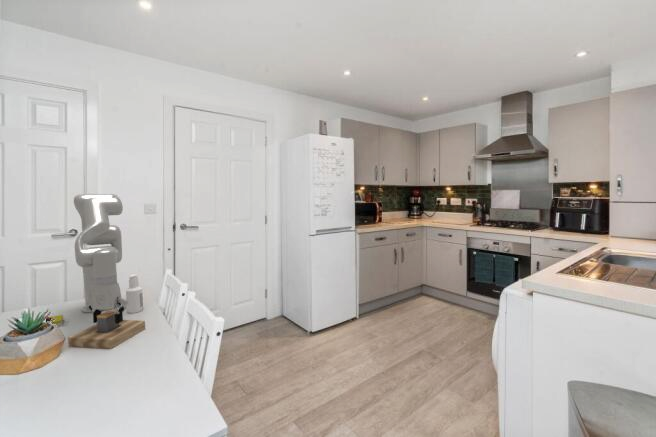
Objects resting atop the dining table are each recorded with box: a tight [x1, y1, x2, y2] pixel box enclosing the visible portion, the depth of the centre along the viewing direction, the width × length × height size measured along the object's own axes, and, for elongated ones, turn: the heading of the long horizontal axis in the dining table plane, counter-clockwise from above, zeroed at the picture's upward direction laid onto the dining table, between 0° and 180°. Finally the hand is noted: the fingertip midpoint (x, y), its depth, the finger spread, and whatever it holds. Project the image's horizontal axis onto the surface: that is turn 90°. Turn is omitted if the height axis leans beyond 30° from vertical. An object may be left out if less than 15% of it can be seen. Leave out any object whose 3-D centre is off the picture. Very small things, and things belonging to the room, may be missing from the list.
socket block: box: [67, 319, 146, 350], centre depth 127 cm, size 18×18×4 cm
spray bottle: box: [125, 274, 144, 314], centre depth 156 cm, size 7×7×18 cm
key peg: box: [96, 309, 119, 333], centre depth 126 cm, size 4×6×10 cm, turn 173°
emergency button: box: [46, 314, 70, 328], centre depth 139 cm, size 9×4×15 cm
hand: (108, 321), depth 126 cm, fingers open, 9 cm apart
